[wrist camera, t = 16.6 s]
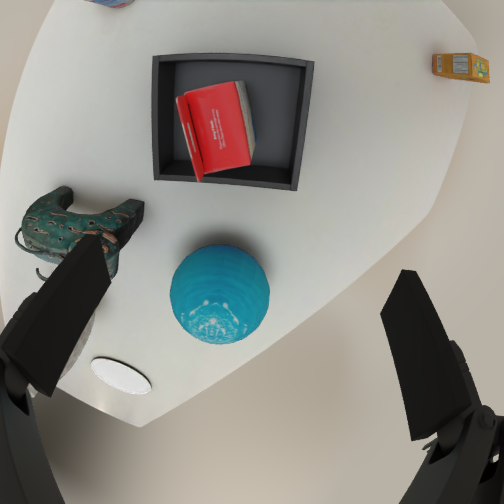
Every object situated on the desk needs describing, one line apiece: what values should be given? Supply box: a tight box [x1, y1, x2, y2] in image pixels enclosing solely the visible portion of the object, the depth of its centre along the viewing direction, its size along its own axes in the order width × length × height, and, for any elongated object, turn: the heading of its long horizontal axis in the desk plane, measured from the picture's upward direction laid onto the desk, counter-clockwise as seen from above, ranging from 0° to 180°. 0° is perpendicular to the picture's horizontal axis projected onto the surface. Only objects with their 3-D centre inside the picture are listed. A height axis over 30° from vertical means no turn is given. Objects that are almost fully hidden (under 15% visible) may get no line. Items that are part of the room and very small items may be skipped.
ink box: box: [176, 81, 257, 182], centre depth 28 cm, size 8×5×15 cm, turn 11°
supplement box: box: [433, 53, 490, 83], centre depth 23 cm, size 3×3×10 cm
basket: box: [152, 53, 314, 191], centre depth 32 cm, size 18×16×7 cm
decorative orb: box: [170, 245, 270, 344], centre depth 43 cm, size 15×15×15 cm
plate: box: [91, 358, 151, 395], centre depth 77 cm, size 21×21×1 cm
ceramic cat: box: [15, 186, 144, 281], centre depth 35 cm, size 20×6×20 cm, turn 75°
